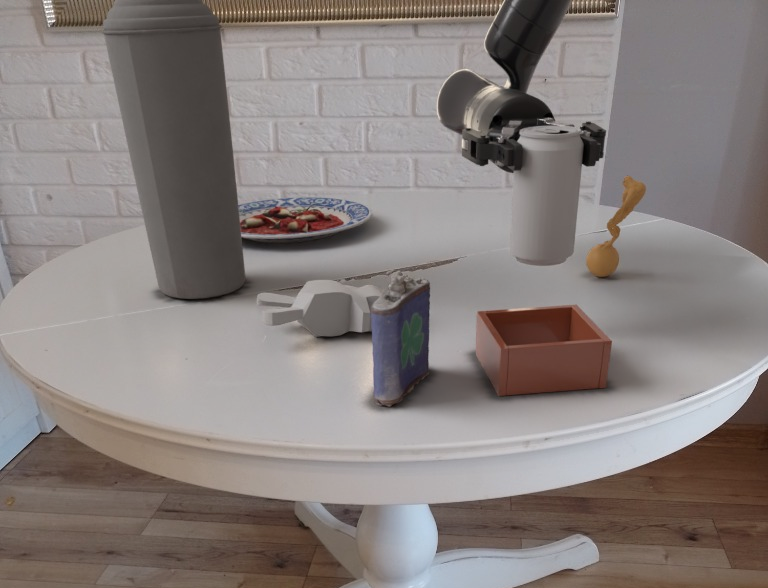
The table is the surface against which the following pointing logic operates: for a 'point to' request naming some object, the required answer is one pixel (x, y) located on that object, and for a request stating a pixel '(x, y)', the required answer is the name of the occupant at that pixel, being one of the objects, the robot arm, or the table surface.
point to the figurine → (615, 231)
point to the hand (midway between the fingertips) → (556, 156)
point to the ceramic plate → (299, 218)
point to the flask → (400, 337)
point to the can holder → (542, 350)
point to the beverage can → (546, 195)
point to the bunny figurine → (323, 307)
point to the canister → (179, 141)
